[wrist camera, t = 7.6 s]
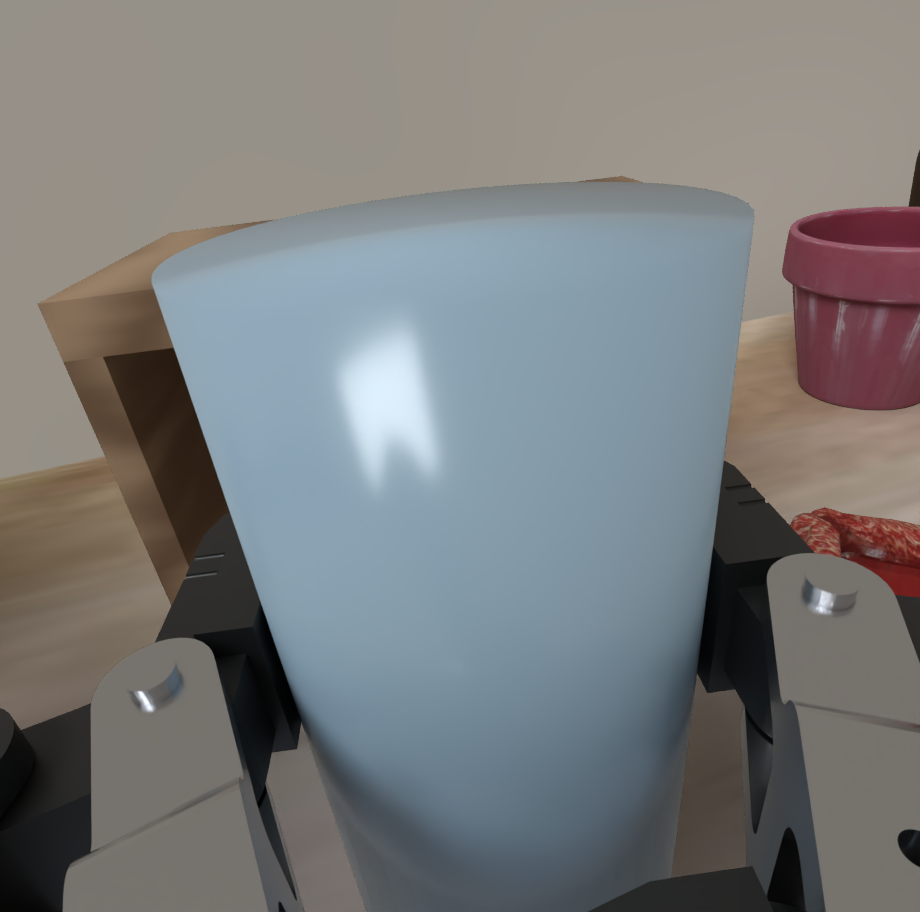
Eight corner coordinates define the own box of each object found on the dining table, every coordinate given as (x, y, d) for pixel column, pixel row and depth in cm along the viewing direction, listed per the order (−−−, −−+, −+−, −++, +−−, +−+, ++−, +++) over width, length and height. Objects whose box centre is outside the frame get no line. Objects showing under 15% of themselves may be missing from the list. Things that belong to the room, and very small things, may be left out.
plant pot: (1003, 431, 43) (1072, 239, 37) (777, 423, 47) (805, 250, 41) (933, 355, 55) (977, 199, 48) (758, 354, 59) (777, 211, 53)
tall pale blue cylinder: (364, 1088, 10) (17, 357, 4) (376, 760, 15) (233, 216, 9) (720, 1035, 10) (925, 246, 4) (613, 726, 15) (633, 169, 9)
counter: (231, 740, 28) (37, 303, 18) (277, 568, 38) (170, 232, 29) (694, 675, 28) (746, 213, 19) (615, 522, 39) (622, 176, 29)
